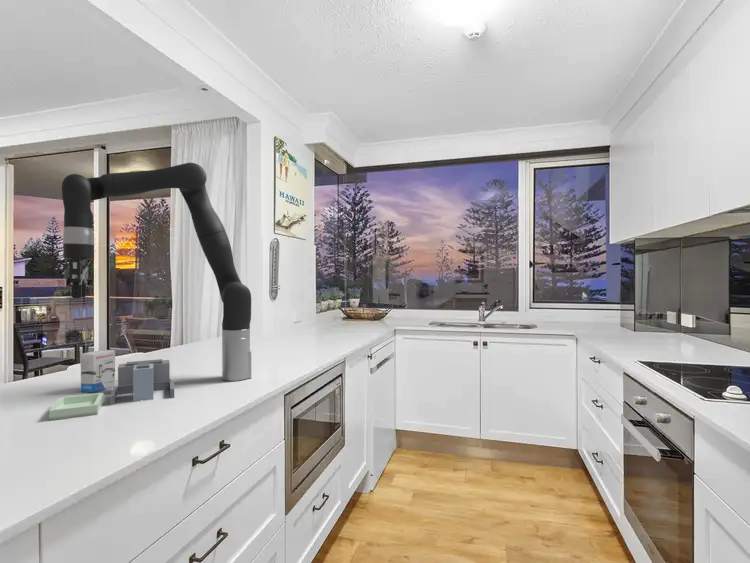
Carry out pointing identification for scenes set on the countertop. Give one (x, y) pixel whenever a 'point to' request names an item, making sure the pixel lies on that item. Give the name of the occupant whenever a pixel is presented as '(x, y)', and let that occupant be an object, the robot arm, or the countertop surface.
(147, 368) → the box with raised panel
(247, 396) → the countertop surface
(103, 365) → the ink box
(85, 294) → the robot arm
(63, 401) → the tray
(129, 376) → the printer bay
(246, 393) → the countertop surface
